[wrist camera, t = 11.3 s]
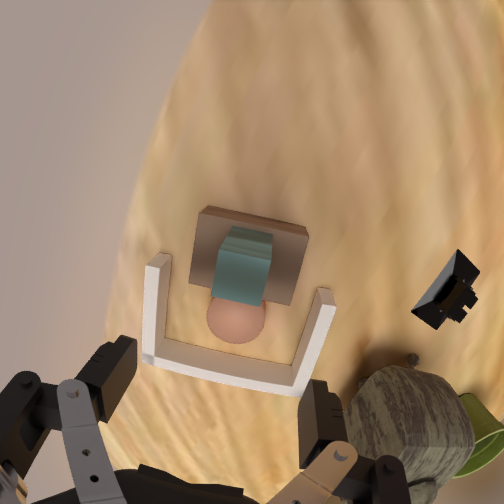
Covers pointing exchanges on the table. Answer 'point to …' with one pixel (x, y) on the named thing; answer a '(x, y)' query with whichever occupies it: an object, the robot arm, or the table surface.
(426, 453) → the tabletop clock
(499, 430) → the plant pot
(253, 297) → the brown and teal block
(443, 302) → the black angular piece
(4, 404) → the robot arm
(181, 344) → the frame
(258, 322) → the pink rounded dome
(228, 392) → the table surface
